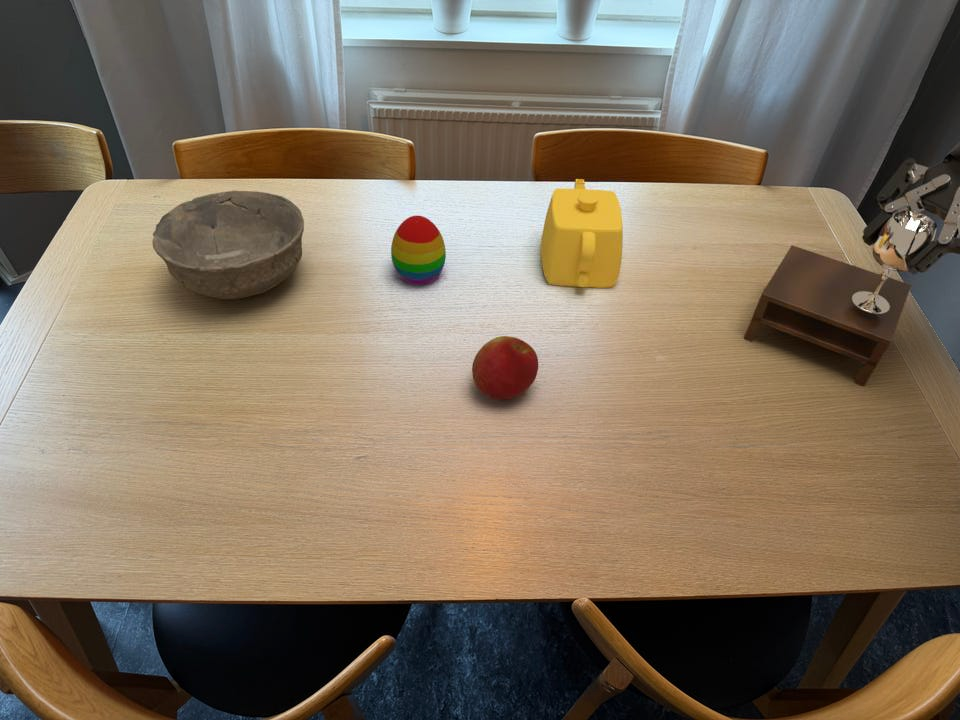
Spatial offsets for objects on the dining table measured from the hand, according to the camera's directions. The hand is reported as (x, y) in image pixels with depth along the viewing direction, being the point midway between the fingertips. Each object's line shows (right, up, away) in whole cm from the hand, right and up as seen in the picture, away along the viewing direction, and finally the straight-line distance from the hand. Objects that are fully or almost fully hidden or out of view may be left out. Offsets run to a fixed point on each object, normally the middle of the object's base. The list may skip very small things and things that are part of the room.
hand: (887, 255), depth 78 cm
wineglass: (+2, -5, +6) cm, 8 cm away
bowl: (-84, -1, +22) cm, 87 cm away
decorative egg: (-58, +1, +24) cm, 62 cm away
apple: (-45, -16, +6) cm, 49 cm away
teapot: (-33, +4, +27) cm, 43 cm away
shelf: (-1, -9, +15) cm, 18 cm away
